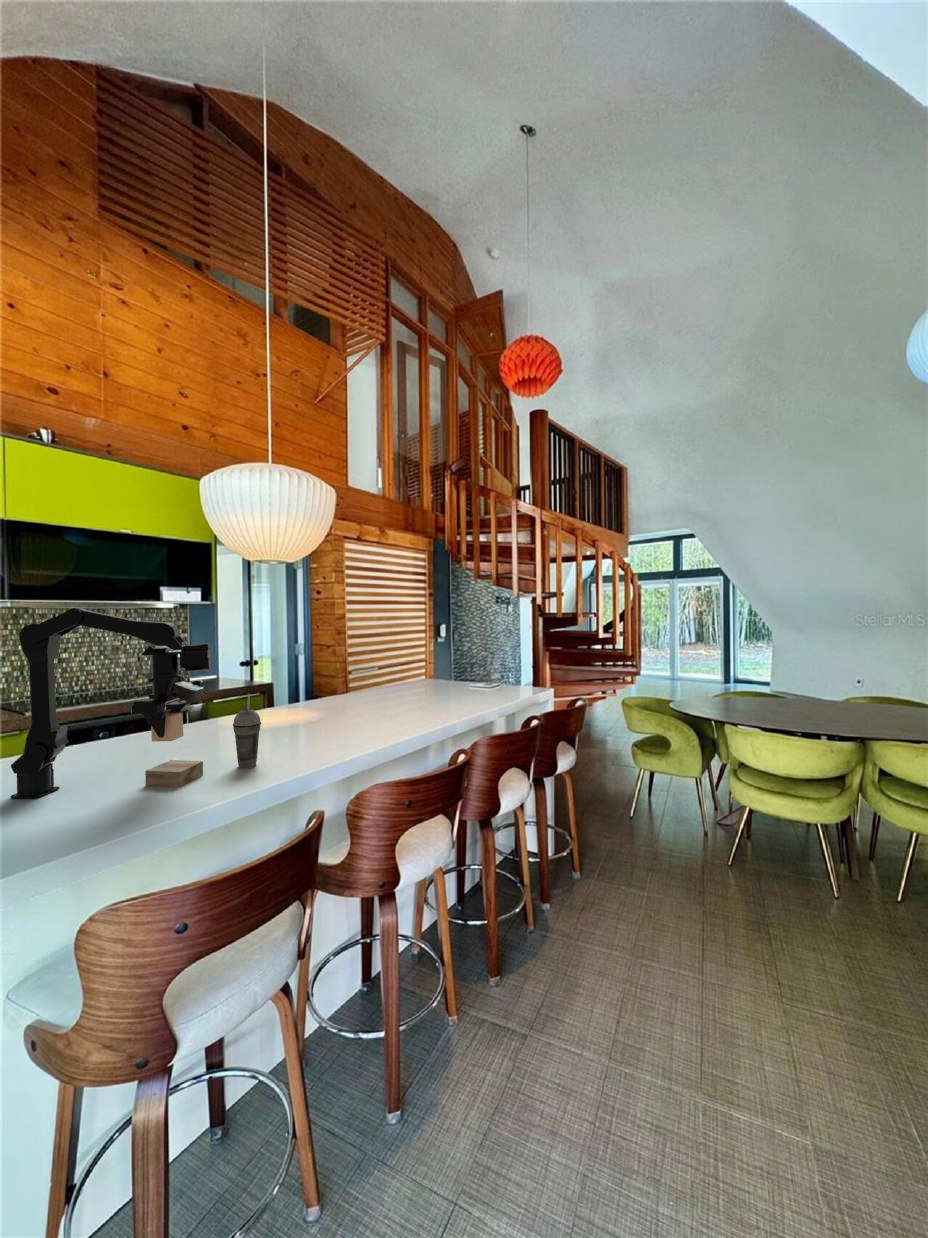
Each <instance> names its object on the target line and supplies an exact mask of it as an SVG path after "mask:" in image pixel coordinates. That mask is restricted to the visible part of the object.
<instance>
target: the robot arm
mask: <svg viewBox="0 0 928 1238" xmlns="http://www.w3.org/2000/svg"><path fill="white" fill-rule="evenodd" d="M81 626H82V627H86V628H91V629H97V630H102V631H107V632H113V633H117V634H122V635H127V636H131V637H135V638H137V639H139V640H141V641H143V642H146V643H149V644H150V645H149V646H147V648H146V649H145V650H144V651H142V653H141V656H143V657H147V656H150V657H151V677H148V678H147V680H148V681H147V682H148V683H152V693H151V694H148V698H142V699H139V700H135V701H133V702H132V704H131V705H130V713H131V715H132V714H134V715H135V714H137V715H138V714H140V715H143V717H144V718H145V719H146V721H148V723H149V725H150V727H151V726H152V728H153V729H154V731H155V732H156V734H157V736H158V737H159V738H163V737H164V732H165V718H166V715H167V714H168V713H184V710H185V709H186V708H187V707H189V705H191V704H192V703H194V702H196V701H200V700H201V697H202V694H205V693H206V690H205V683H204V681H203V680H201V679H195V680H194V681H193V682H190V681H189V682H187V681H185V680H184V676H183V675H182V674H181V675H180V674H179V666H180V668H182V669H184V671H185V672H198V671H211V669H212V662H213V661H212V659H213V658H212V655H211V649H210V643H202V644H188V643H187V642H186V641H185V640H184V639H183V638H182V637H181V636H180V635H179V634H180V633H179V629H178V627H177V626H176V625H175V624H174V623H173V622H165V621H145V620H143V621H142V620H135V619H131V618H126V617H121V616H115V615H111V614H106V613H101V612H96V611H92V610H88V609H85V608H81V607H73V608H70V609H67V610H66V611H65V612H63V613H60V614H58V615H55V616H54V617H51V618H48V619H46V620H43V621H42V622H38V623H37V622H36V623H30V624H28V625H25V626H24V627H22V629H20V630H19V632H18V640H19V643H20V644H19V645H20V647H21V650H22V653H23V655H24V656H25V658H26V660H27V662H28V666H29V668H28V669H29V672H28V673H29V693H30V694H29V695H30V696H29V697H30V717H31V718H30V719H31V724H30V728H29V729H28V732H27V735H26V736H25V737H26V738H25V741H24V743H25V744H24V749H23V754H22V755H21V756H19V757H18V758H17V759H16V760H15V761H13V762H12V763H11V764H10V767H11V770H12V772H13V773H14V774H16V793H14V794H11V795H10V799H39V798H41V797H44V796H45V795H48V794H50V793H53V792H55V791H58V790H60V786H55V785H54V784H55V783H54V782H55V777H54V775H55V774H54V772H55V771H54V767H53V764H54V762H55V761H56V760H57V759H56V758H57V756H58V755H60V754H61V753H62V752H63V751H64V749H66V744H67V743H70V742H69V739H68V736H67V735H68V725H63V726H61V725H60V724H59V722H58V719H57V704H56V678H55V659H56V656H57V655H58V652H59V649H60V645H61V638H62V637H63V636H65V635H67V634H69V633H70V632H73V631H74V630H75V629H77V628H78V627H81ZM151 644H152V645H151ZM153 645H155V646H157V647H158V648H157V647H154V646H153ZM159 647H160V648H159ZM169 649H171V650H172V651H170V650H169ZM179 650H180V651H179Z"/></svg>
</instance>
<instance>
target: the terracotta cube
mask: <svg viewBox="0 0 928 1238" xmlns="http://www.w3.org/2000/svg"><path fill="white" fill-rule="evenodd" d="M183 713H184V712H182V713H168V714H167V715H166V718H165V732H164V737H163V738H159V737H158V736H157V734H156V732H155V731H154V729H153V728H152V726H151V725H150V727H151V729H150V732H151V742H155V743H156V742H173V741H176V740H178V739H180V738H183V737H184V720H183V719H184V716H183V715H184V714H183Z"/></svg>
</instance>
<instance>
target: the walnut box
mask: <svg viewBox="0 0 928 1238" xmlns="http://www.w3.org/2000/svg"><path fill="white" fill-rule="evenodd" d="M144 773H145V786H146V787H165V788H167V787H168V788H181V787H182V786H183V787H184V786H185V785H187V784H189V783H190V782H192V781H195V780H197V779H198V777H199V778H201V777H202V776H204V761H203V760H184V759H183V760H179V759H177V760H176V759H170V760H168V761H165V762H163V763H160V764H158V765H155V766H153V767H151V768H149V769H146V770H145V772H144ZM194 779H195V780H194ZM188 782H189V783H188ZM184 784H185V785H184Z"/></svg>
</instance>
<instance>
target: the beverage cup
mask: <svg viewBox="0 0 928 1238" xmlns="http://www.w3.org/2000/svg"><path fill="white" fill-rule="evenodd" d="M250 698H251V693H247V707H246V709H242V710H240V711H239V712H237V713H236V715H235V717H234V718H233V724H232V729H233V733H234V737H235V747H236V758H237V764H238V768H239V769H251V768H254V766H255V767H256V766H257V761H258V753H259V752H258V751H259V738H260V730H261V725H262V720H261V717H260V715H259V714H258V712H257V711H255V710H254V709H252V708H250V704H251V703H250V701H251V700H250Z"/></svg>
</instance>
